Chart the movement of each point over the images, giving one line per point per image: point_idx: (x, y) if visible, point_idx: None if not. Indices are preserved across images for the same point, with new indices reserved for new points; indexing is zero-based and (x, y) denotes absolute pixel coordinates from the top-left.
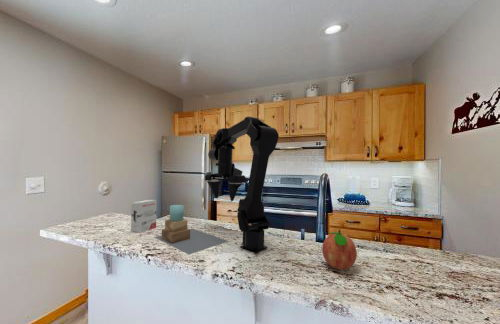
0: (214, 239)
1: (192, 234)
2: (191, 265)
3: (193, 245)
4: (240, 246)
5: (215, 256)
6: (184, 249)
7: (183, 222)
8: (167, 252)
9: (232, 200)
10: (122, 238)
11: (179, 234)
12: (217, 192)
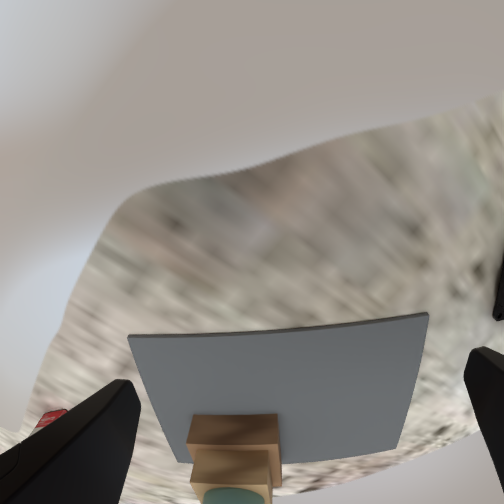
0: (365, 352)
1: (227, 385)
2: (436, 448)
3: (352, 427)
4: (495, 316)
5: (457, 400)
6: (357, 450)
7: (268, 487)
8: (328, 471)
9: (482, 365)
10: (138, 484)
11: (280, 464)
12: (94, 450)
